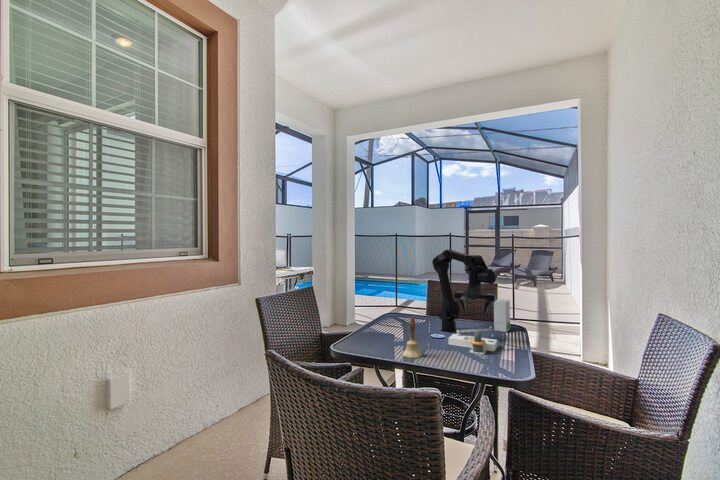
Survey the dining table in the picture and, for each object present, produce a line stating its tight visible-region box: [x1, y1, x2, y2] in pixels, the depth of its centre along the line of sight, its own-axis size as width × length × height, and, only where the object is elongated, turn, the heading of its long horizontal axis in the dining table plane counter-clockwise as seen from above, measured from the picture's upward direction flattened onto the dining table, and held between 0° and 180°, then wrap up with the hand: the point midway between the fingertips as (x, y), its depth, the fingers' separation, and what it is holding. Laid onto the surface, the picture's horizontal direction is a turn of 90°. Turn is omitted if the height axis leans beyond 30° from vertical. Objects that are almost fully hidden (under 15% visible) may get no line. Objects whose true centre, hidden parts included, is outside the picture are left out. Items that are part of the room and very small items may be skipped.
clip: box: [456, 325, 493, 334], centre depth 166 cm, size 17×2×2 cm, turn 96°
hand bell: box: [402, 316, 423, 359], centre depth 148 cm, size 8×8×16 cm
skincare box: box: [493, 298, 511, 333], centre depth 185 cm, size 8×7×16 cm
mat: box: [468, 348, 488, 356], centre depth 151 cm, size 6×6×1 cm
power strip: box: [448, 332, 498, 352], centre depth 160 cm, size 20×8×4 cm, turn 59°
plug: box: [470, 331, 486, 352], centre depth 151 cm, size 6×6×8 cm
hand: (474, 314), depth 168 cm, fingers open, 9 cm apart
